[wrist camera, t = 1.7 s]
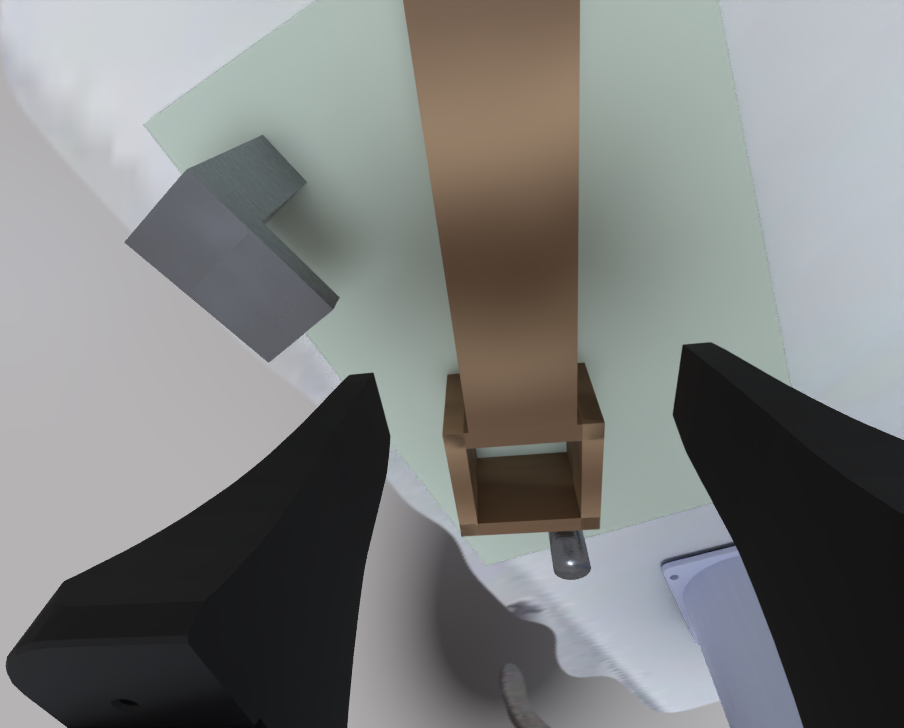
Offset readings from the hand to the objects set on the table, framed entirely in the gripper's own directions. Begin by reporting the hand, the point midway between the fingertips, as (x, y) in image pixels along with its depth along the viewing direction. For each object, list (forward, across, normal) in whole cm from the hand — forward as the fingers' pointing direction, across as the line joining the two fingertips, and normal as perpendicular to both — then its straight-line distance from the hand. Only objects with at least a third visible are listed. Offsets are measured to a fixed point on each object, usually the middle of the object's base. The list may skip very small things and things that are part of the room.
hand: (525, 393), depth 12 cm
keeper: (+9, +8, -3) cm, 12 cm away
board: (+9, -1, +3) cm, 10 cm away
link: (+8, 0, +1) cm, 9 cm away
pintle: (+8, -2, +13) cm, 15 cm away
